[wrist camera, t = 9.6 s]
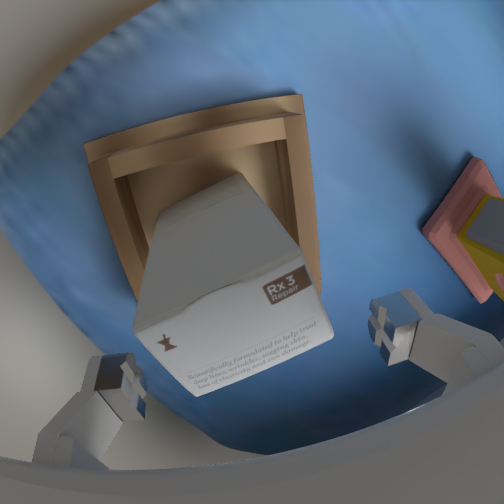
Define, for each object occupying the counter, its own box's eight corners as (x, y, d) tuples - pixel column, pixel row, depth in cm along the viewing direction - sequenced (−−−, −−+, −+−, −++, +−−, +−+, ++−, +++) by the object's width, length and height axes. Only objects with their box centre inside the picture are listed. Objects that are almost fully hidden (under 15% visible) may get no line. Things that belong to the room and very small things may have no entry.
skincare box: (188, 261, 22) (193, 407, 11) (155, 207, 20) (121, 336, 9) (269, 222, 22) (340, 346, 11) (241, 163, 20) (304, 250, 9)
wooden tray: (298, 94, 19) (319, 93, 15) (317, 274, 25) (335, 302, 22) (87, 142, 18) (66, 152, 14) (148, 314, 24) (143, 347, 21)
